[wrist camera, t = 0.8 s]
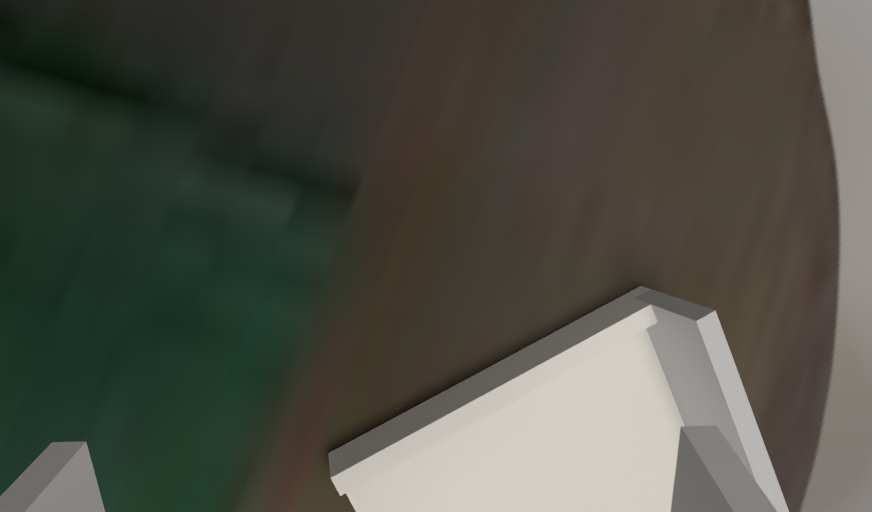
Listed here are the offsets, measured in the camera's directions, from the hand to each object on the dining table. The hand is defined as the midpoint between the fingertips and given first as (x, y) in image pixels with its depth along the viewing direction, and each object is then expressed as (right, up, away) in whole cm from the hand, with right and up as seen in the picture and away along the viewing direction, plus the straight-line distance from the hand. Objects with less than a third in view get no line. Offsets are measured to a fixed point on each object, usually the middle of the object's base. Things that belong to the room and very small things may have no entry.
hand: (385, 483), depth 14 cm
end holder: (+7, -8, +19) cm, 22 cm away
